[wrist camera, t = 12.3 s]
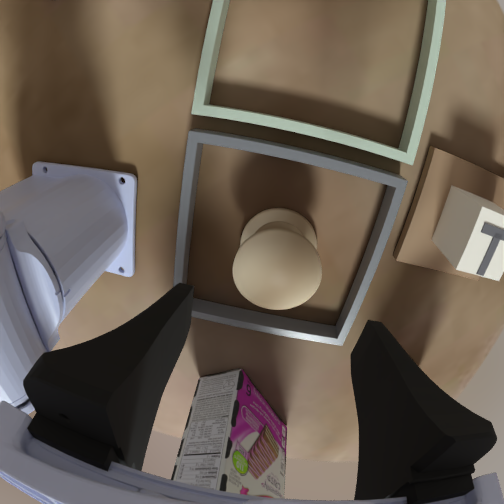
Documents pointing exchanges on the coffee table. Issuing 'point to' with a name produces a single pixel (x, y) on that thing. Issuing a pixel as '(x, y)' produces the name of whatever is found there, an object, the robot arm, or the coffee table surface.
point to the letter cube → (472, 234)
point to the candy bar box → (232, 439)
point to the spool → (277, 260)
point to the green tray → (402, 153)
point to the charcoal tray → (394, 181)
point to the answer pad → (441, 207)
